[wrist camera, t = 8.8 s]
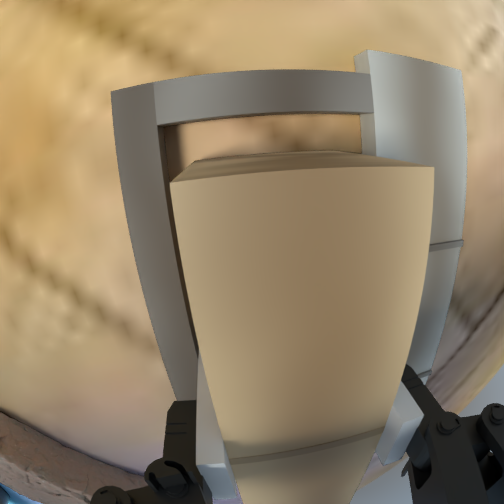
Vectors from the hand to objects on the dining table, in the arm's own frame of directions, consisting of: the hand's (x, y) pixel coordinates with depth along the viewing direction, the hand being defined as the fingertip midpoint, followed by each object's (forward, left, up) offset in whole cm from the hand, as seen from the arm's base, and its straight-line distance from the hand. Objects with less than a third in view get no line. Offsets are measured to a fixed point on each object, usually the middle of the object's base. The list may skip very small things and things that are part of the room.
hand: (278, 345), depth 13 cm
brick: (-17, -13, -1) cm, 22 cm away
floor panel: (+2, 0, -1) cm, 2 cm away
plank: (0, 0, 0) cm, 0 cm away
